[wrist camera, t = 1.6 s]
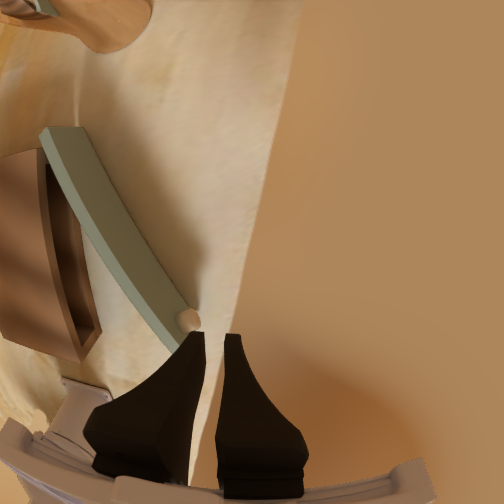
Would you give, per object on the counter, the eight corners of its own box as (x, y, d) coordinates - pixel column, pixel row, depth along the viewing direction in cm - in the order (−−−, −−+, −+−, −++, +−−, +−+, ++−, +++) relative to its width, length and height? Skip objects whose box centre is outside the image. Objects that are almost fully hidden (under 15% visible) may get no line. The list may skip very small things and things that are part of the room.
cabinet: (102, 332, 24) (81, 364, 19) (26, 315, 24) (3, 338, 19) (75, 144, 18) (36, 148, 13) (-4, 162, 17) (-37, 170, 13)
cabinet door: (210, 315, 22) (202, 351, 18) (188, 324, 23) (177, 360, 19) (92, 114, 16) (56, 110, 12) (73, 131, 17) (36, 131, 12)
